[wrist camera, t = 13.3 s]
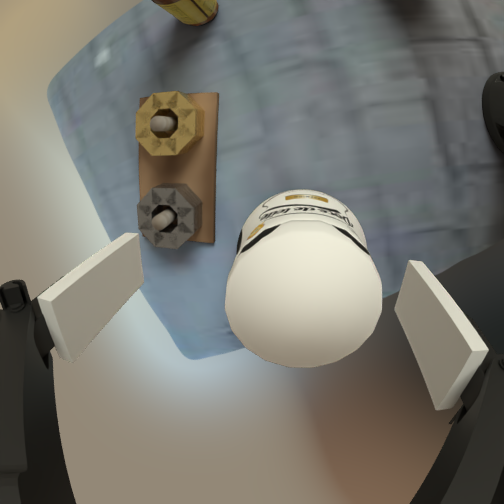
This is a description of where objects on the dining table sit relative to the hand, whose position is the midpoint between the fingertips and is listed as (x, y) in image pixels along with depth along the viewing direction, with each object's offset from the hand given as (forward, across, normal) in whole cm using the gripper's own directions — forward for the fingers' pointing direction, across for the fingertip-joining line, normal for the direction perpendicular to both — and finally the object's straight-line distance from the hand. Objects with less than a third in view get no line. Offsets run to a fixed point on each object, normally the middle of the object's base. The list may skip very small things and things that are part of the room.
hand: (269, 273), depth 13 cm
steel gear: (+28, +16, +6) cm, 32 cm away
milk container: (+29, -3, +9) cm, 31 cm away
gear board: (+29, +16, -1) cm, 33 cm away
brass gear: (+28, +16, -8) cm, 33 cm away
